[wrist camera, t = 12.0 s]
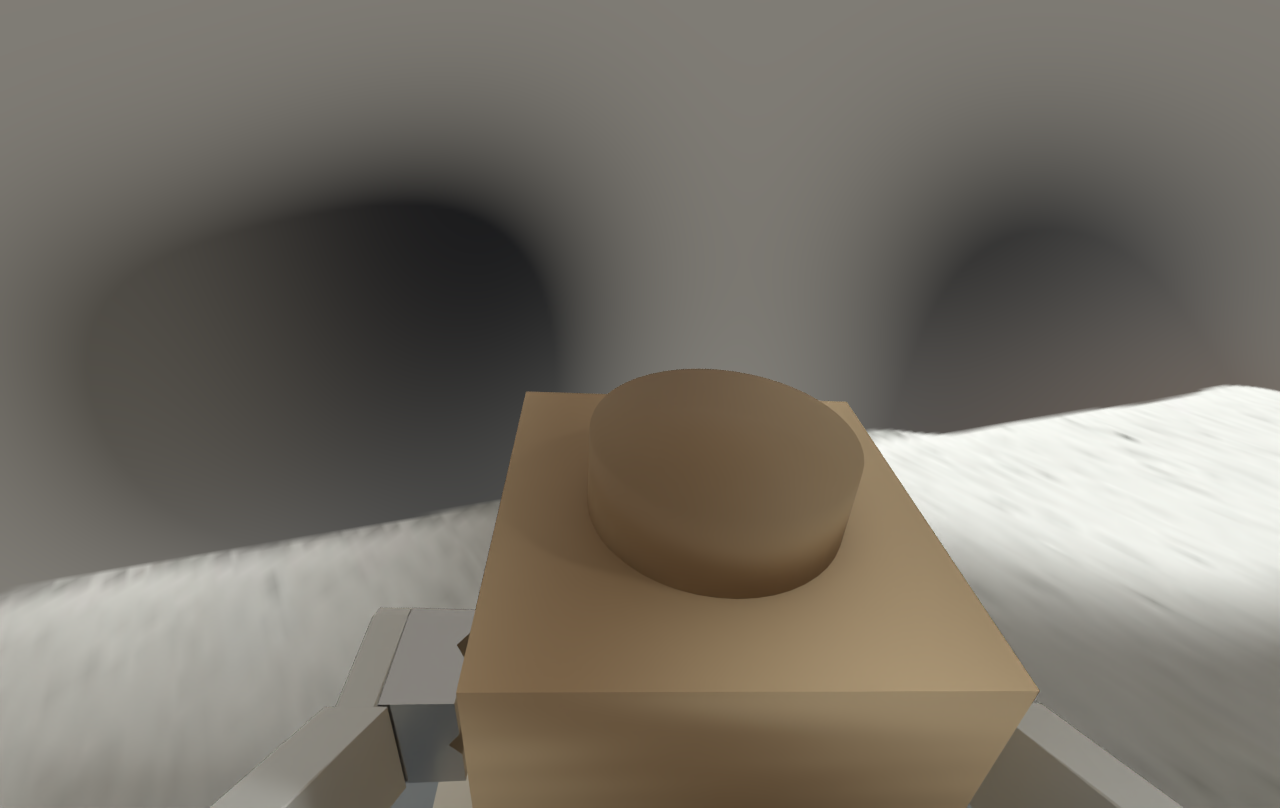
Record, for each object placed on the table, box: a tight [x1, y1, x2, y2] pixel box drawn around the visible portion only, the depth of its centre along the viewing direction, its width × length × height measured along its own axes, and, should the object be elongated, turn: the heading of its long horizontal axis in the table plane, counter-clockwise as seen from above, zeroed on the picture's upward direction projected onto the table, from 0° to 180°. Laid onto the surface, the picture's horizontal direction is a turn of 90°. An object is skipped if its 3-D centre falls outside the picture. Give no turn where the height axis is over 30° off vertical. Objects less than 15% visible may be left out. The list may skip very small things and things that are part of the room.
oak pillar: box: [456, 369, 1039, 808], centre depth 10 cm, size 5×5×11 cm
